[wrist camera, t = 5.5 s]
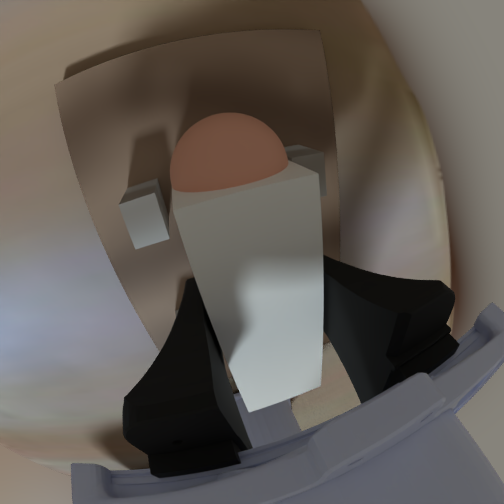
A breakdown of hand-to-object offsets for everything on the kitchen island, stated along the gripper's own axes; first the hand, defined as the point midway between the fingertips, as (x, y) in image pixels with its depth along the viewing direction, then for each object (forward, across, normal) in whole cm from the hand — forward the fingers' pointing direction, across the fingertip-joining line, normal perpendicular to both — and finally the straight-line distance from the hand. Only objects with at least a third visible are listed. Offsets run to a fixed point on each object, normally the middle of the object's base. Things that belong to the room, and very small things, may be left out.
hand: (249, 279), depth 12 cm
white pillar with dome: (+2, 0, 0) cm, 2 cm away
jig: (+4, 0, 0) cm, 4 cm away
